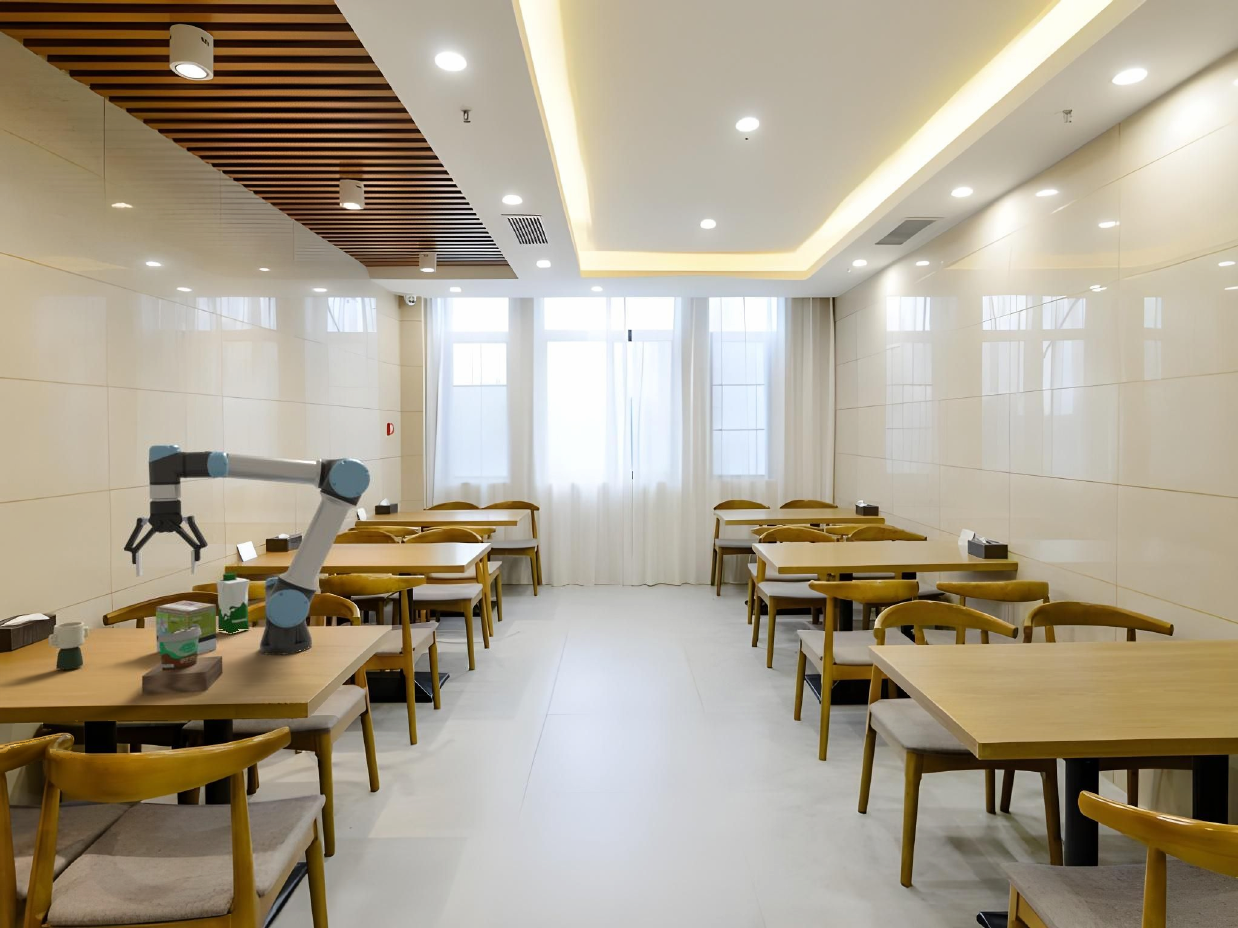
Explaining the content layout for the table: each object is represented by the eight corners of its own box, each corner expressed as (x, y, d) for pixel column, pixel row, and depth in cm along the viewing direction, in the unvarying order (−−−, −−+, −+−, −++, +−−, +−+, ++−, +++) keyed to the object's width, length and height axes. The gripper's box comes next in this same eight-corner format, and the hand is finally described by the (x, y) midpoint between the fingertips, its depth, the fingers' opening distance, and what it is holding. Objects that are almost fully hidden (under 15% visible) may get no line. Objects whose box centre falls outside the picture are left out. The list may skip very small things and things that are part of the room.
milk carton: (238, 627, 260) (237, 571, 260) (253, 630, 255) (252, 573, 255) (214, 632, 253) (213, 575, 252) (228, 635, 248) (227, 577, 247)
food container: (178, 673, 191) (177, 635, 190) (157, 671, 192) (157, 634, 191) (212, 659, 203) (211, 624, 202) (193, 658, 204) (192, 623, 204)
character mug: (80, 662, 218) (79, 619, 217) (97, 664, 215) (96, 620, 215) (41, 672, 207) (40, 627, 207) (58, 675, 205) (57, 629, 205)
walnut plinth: (222, 673, 206) (222, 655, 206) (206, 690, 192) (206, 671, 192) (163, 677, 203) (162, 659, 203) (142, 695, 188) (142, 676, 188)
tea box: (155, 652, 228) (154, 605, 227) (184, 644, 237) (184, 599, 237) (188, 657, 222) (188, 609, 222) (217, 649, 231) (217, 603, 231)
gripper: (217, 497, 213) (219, 569, 213) (119, 499, 205) (121, 574, 206) (211, 499, 205) (213, 573, 206) (109, 501, 198) (111, 579, 199)
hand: (167, 574), depth 206 cm, fingers open, 13 cm apart
